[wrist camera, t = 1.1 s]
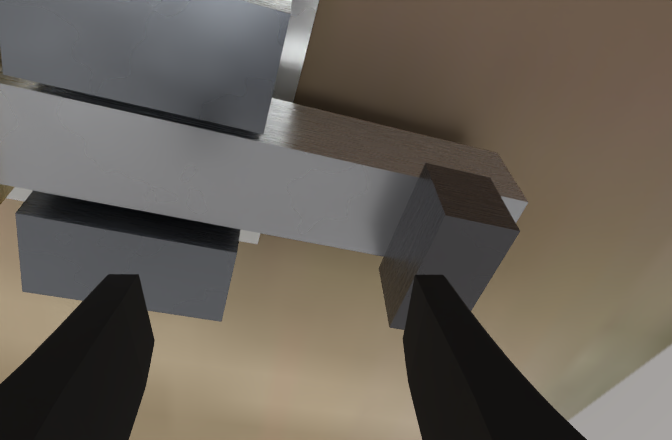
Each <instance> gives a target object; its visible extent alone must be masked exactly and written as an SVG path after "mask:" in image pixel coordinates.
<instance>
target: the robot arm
mask: <svg viewBox="0 0 672 440" xmlns="http://www.w3.org/2000/svg"><path fill="white" fill-rule="evenodd" d="M403 345H404V353H405V361H406V369H407V376H408V383H409V387H410V392H411V396H412V400H413V404H414V408H415V412H416V416H417V420H418V424H419V428H420V432H421V436H422V440H587V439H586V438H585V437H583V436H582V435H581V434H580V433H579V432H578V431H577V430H576V429H575V428H574V427H573V426H572V425H571V424H570V423H569V422H568V421H567V420H566V419H565V418H564V417H562V416H561V415H560V414H559V413H558V412H557V411H556V410H555V409H554V408H553V407H552V406H551V405H550V404H549V403H548V401H547V400H546V399H545V398H544V397H543V396H542V395H541V394H540V393H539V392H538V391H537V390H536V389H535V388H534V387H533V385H532V384H531V383H530V382H529V381H528V380H527V379H526V378H525V377H524V376H523V375H522V373H521V372H520V371H519V370H518V369H517V368H516V367H515V365H514V364H513V363H512V362H511V361H510V360H509V359H508V357H507V356H506V355H505V354H504V352H503V351H502V350H501V349H500V348H499V346H498V345H497V344H496V343H495V342H494V340H493V339H492V338H491V337H490V335H489V334H488V333H487V332H486V330H485V329H484V328H483V327H482V325H481V324H480V323H479V322H478V320H477V319H476V318H475V316H474V315H473V314H472V312H471V311H470V310H469V308H468V307H467V306H466V304H465V303H464V302H463V300H462V299H461V298H460V296H459V295H458V293H457V292H456V291H455V289H454V288H453V287H452V285H451V284H450V282H449V281H448V280H447V278H446V277H445V276H444V275H415V277H414V282H413V288H412V293H411V298H410V303H409V309H408V314H407V319H406V325H405V330H404V335H403ZM153 347H154V336H153V332H152V328H151V324H150V319H149V315H148V311H147V307H146V303H145V298H144V294H143V290H142V286H141V281H140V277H139V274H108V275H107V276H106V277H105V278H104V279H103V280H102V281H101V282H100V283H99V284H98V285H97V286H96V287H95V288H94V290H93V291H92V292H91V293H90V294H89V295H88V296H87V297H86V298H85V299H84V300H83V301H82V303H81V304H80V305H79V306H78V307H77V308H76V309H75V310H74V311H73V312H72V313H71V314H70V315H69V316H68V317H67V319H66V320H65V321H64V322H63V323H62V324H61V325H60V326H59V327H58V328H57V329H56V330H55V331H54V332H53V333H52V334H51V335H50V336H49V337H48V338H47V339H46V340H45V341H44V342H43V343H42V344H41V345H40V346H39V347H38V348H37V349H36V350H35V351H34V353H33V354H32V355H31V356H30V357H29V358H27V359H26V360H25V361H24V362H23V363H22V364H21V365H20V366H19V367H18V368H17V369H16V370H15V371H14V372H13V373H12V374H11V375H10V376H9V377H7V378H6V379H5V380H4V381H3V382H2V383H1V384H0V440H129V437H130V434H131V431H132V428H133V424H134V421H135V418H136V415H137V412H138V409H139V406H140V403H141V400H142V397H143V393H144V390H145V387H146V382H147V378H148V373H149V368H150V363H151V357H152V352H153Z"/></svg>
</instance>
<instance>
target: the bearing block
mask: <svg viewBox="0 0 672 440" xmlns="http://www.w3.org/2000/svg"><path fill="white" fill-rule="evenodd" d="M318 3H319V0H0V48H1V59H2V70H3V75H7V76H12V77H16V78H20V79H25V80H29V81H33V82H38V83H42V84H47V85H51V86H55V87H60V88H64V89H68V90H73V91H77V92H82V93H86V94H90V95H95V96H99V97H103V98H108V99H112V100H117V101H121V102H125V103H130V104H134V105H138V106H143V107H147V108H152V109H156V110H160V111H165V112H169V113H173V114H178V115H182V116H187V117H191V118H195V119H200V120H204V121H208V122H213V123H217V124H222V125H226V126H230V127H235V128H239V129H243V130H248V131H252V132H257V133H261V134H264V130H265V126H266V121H267V117H268V112H269V108H270V104H271V99H272V98H275V99H279V100H283V101H287V102H291V103H293V102H294V98H295V94H296V90H297V86H298V82H299V78H300V74H301V70H302V66H303V62H304V58H305V54H306V50H307V46H308V42H309V38H310V34H311V30H312V26H313V22H314V18H315V14H316V10H317V6H318ZM6 198H8V199H14V200H19V201H25V202H24V203H23V204H22V206H21V207H20V208H19V209H18V211H17V212H16V213H15V214H16V225H17V236H18V247H19V258H20V269H21V280H22V291H23V292H29V293H35V294H42V295H49V296H55V297H62V298H68V299H75V300H82V301H83V300H84V299H85V298H86V297H87V296H88V295H89V294H90V293H91V292H92V291H93V290H94V288H95V287H96V286H97V285H98V284H99V283H100V282H101V281H102V280H103V279H104V278H105V277H106V276H107V275H108V274H139V277H140V281H141V286H142V290H143V294H144V298H145V303H146V307H147V310H148V311H155V312H161V313H168V314H174V315H181V316H188V317H194V318H201V319H208V320H214V321H222V317H223V312H224V308H225V304H226V299H227V295H228V290H229V286H230V281H231V277H232V272H233V268H234V264H235V259H236V255H237V249H238V243H239V241H242V242H248V243H253V244H258V241H259V237H260V233H257V232H251V231H246V230H241V229H235V228H230V227H225V226H219V225H214V224H209V223H204V222H198V221H193V220H188V219H182V218H177V217H172V216H166V215H161V214H156V213H151V212H145V211H140V210H135V209H129V208H124V207H119V206H113V205H108V204H103V203H98V202H92V201H87V200H82V199H76V198H71V197H66V196H60V195H55V194H50V193H45V192H39V191H34V190H29V189H23V188H18V187H14V189H13V190H12V191H11V192H10V193H9V195H8V196H7V197H6Z"/></svg>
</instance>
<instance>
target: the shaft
mask: <svg viewBox="0 0 672 440" xmlns="http://www.w3.org/2000/svg"><path fill="white" fill-rule="evenodd" d="M0 184H2V185H7V186H13V187H18V188H23V189H29V190H34V191H39V192H45V193H50V194H55V195H60V196H66V197H71V198H76V199H82V200H87V201H92V202H98V203H103V204H108V205H113V206H119V207H124V208H129V209H135V210H140V211H145V212H151V213H156V214H161V215H166V216H172V217H177V218H182V219H188V220H193V221H198V222H204V223H209V224H214V225H219V226H225V227H230V228H235V229H241V230H246V231H251V232H257V233H262V234H267V235H272V236H278V237H283V238H288V239H294V240H299V241H304V242H310V243H315V244H320V245H326V246H331V247H336V248H341V249H347V250H352V251H357V252H363V253H368V254H373V255H379V256H384V258H383V260H382V262H381V264H380V267H379V272H380V277H381V283H382V288H383V294H384V299H385V305H386V311H387V316H388V322H389V327H390V328H396V329H402V330H405V325H406V319H407V314H408V309H409V303H410V298H411V293H412V288H413V282H414V277H415V275H444V276H445V277H446V278H447V280H448V281H449V282H450V284H451V285H452V287H453V288H454V289H455V291H456V292H457V293H458V295H459V296H460V298H461V299H462V300H463V302H464V303H465V304H466V306H467V307H468V308H469V310H470V311H471V310H472V308H473V307H474V305H475V304H476V302H477V300H478V299H479V297H480V295H481V294H482V292H483V291H484V289H485V287H486V286H487V284H488V282H489V281H490V279H491V278H492V276H493V274H494V273H495V271H496V269H497V268H498V266H499V265H500V263H501V261H502V260H503V258H504V256H505V255H506V253H507V252H508V250H509V248H510V247H511V245H512V243H513V242H514V240H515V239H516V237H517V235H518V234H519V232H520V230H519V228H518V226H517V225H516V222H517V220H518V219H519V217H520V215H521V214H522V212H523V210H524V209H525V207H526V205H527V204H528V201H527V199H526V198H525V196H524V195H523V193H522V191H521V190H520V188H519V187H518V185H517V183H516V182H515V180H514V179H513V177H512V175H511V174H510V172H509V171H508V169H507V167H506V166H505V164H504V163H503V161H502V159H501V158H500V156H499V155H498V153H496V152H492V151H488V150H484V149H480V148H475V147H471V146H467V145H463V144H459V143H455V142H451V141H447V140H443V139H439V138H434V137H430V136H426V135H422V134H418V133H414V132H410V131H406V130H402V129H398V128H393V127H389V126H385V125H381V124H377V123H373V122H369V121H365V120H361V119H357V118H353V117H348V116H344V115H340V114H336V113H332V112H328V111H324V110H320V109H316V108H312V107H307V106H303V105H299V104H295V103H291V102H287V101H283V100H279V99H275V98H272V99H271V104H270V108H269V112H268V117H267V121H266V126H265V130H264V134H261V133H257V132H252V131H248V130H243V129H239V128H235V127H230V126H226V125H222V124H217V123H213V122H208V121H204V120H200V119H195V118H191V117H187V116H182V115H178V114H173V113H169V112H165V111H160V110H156V109H152V108H147V107H143V106H138V105H134V104H130V103H125V102H121V101H117V100H112V99H108V98H103V97H99V96H95V95H90V94H86V93H82V92H77V91H73V90H68V89H64V88H60V87H55V86H51V85H47V84H42V83H38V82H33V81H29V80H25V79H20V78H16V77H12V76H7V75H3V70H2V59H1V48H0Z"/></svg>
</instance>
